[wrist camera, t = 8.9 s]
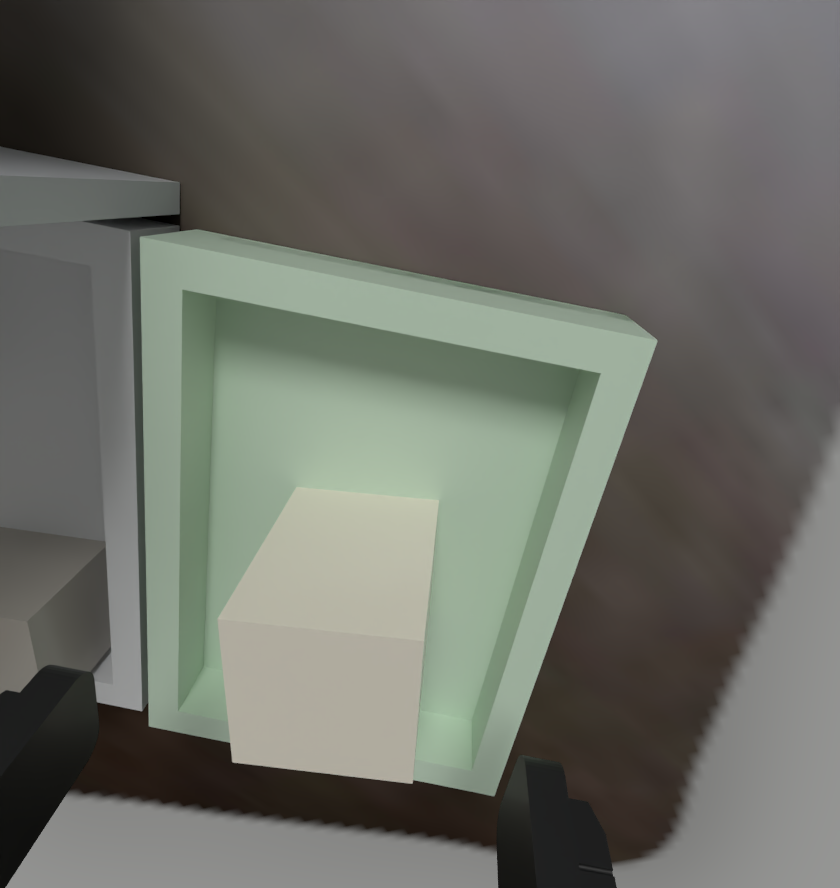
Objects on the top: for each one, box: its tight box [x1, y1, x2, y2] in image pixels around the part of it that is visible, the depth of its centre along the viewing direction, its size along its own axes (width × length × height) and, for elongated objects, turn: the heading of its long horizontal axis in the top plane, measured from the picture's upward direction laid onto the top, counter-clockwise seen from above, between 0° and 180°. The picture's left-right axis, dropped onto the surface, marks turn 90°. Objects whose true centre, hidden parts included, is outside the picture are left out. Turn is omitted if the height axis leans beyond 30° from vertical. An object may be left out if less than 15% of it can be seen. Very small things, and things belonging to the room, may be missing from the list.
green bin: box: [140, 229, 658, 796], centre depth 18 cm, size 16×12×3 cm
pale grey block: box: [0, 527, 111, 694], centre depth 19 cm, size 4×4×4 cm
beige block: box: [217, 487, 439, 784], centre depth 16 cm, size 4×4×6 cm
